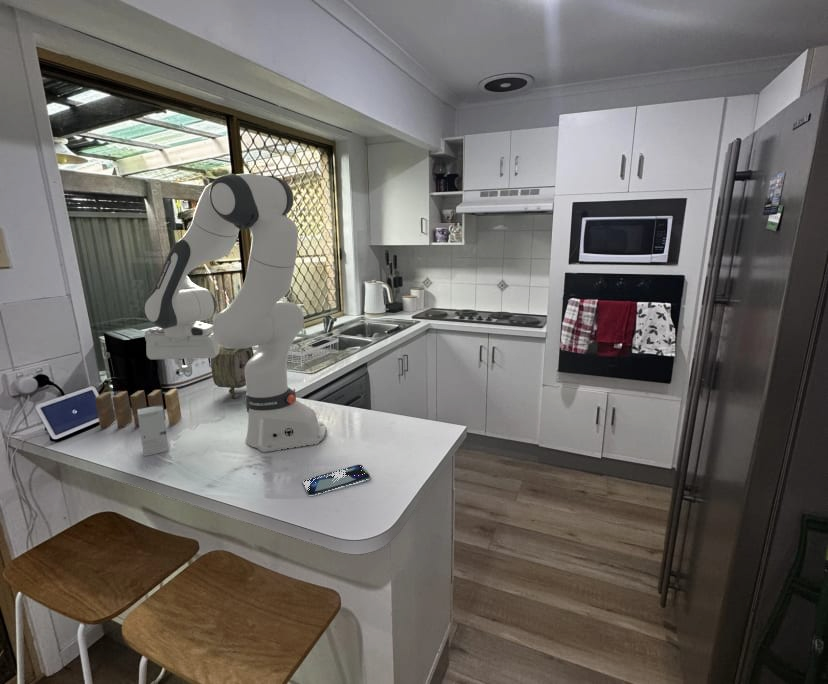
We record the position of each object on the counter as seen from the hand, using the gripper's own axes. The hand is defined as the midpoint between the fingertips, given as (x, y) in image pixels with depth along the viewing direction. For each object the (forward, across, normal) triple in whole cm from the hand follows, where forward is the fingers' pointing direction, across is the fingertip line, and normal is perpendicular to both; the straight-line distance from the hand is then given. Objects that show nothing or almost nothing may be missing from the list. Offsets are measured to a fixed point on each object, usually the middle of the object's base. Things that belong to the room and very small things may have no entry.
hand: (186, 371), depth 134 cm
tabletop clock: (+17, +7, +23) cm, 30 cm away
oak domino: (+16, -5, -1) cm, 17 cm away
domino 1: (+17, -25, 0) cm, 30 cm away
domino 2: (+17, -20, 0) cm, 26 cm away
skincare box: (+16, -2, -21) cm, 26 cm away
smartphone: (+15, +48, -43) cm, 66 cm away
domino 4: (+16, -10, -1) cm, 19 cm away
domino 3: (+16, -15, 0) cm, 22 cm away
